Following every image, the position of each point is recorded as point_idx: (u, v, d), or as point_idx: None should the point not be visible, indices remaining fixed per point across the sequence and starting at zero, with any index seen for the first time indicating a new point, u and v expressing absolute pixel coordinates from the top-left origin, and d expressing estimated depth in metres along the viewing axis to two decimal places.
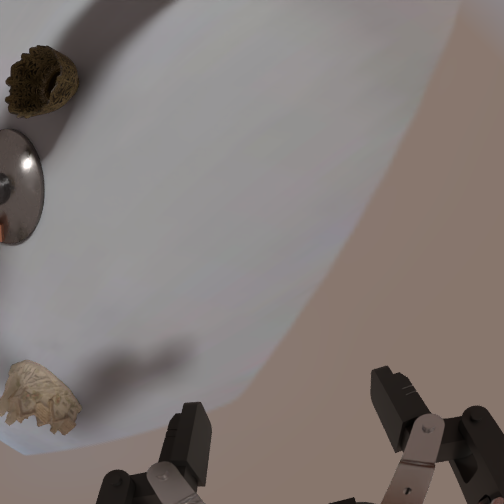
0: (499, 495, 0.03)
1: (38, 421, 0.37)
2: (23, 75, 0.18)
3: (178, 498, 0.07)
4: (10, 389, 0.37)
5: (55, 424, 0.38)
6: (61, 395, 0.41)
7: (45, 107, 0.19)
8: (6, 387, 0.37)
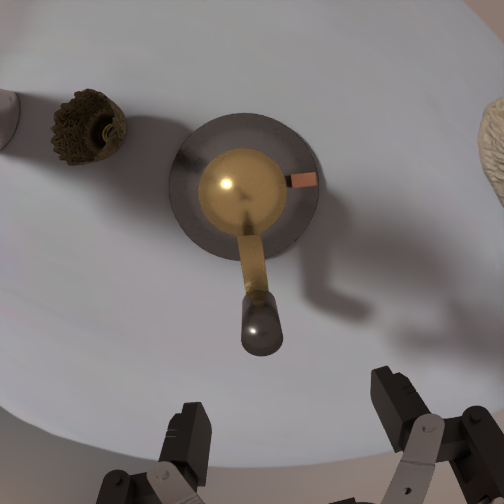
0: (499, 495, 0.03)
1: None
2: (87, 161, 0.25)
3: (178, 498, 0.07)
4: None
5: None
6: (498, 110, 0.26)
7: (102, 93, 0.22)
8: None
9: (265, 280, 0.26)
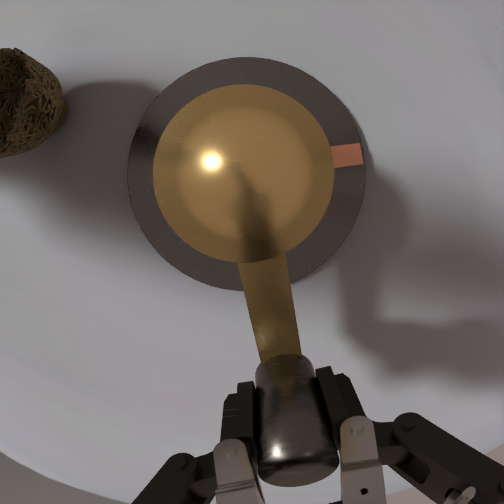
0: (467, 485, 0.04)
1: None
2: None
3: (252, 472, 0.08)
4: None
5: None
6: None
7: None
8: None
9: (295, 338, 0.13)
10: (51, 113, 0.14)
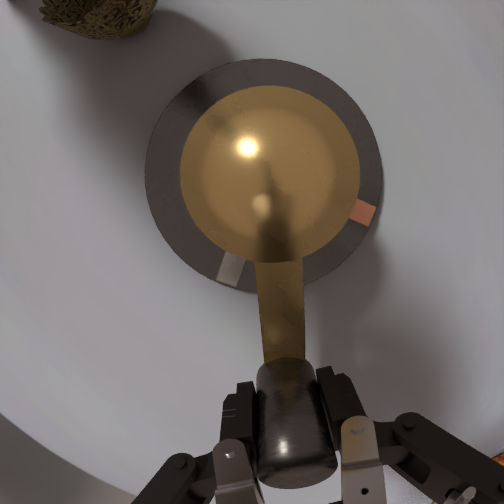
0: (467, 485, 0.04)
1: None
2: (71, 28, 0.11)
3: (251, 472, 0.08)
4: None
5: None
6: None
7: None
8: None
9: (301, 342, 0.13)
10: (133, 19, 0.13)
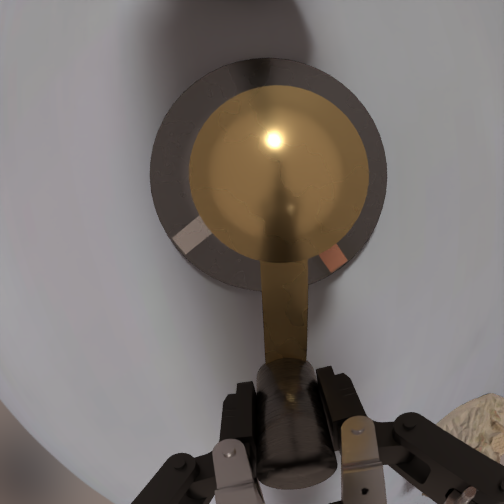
0: (467, 485, 0.04)
1: None
2: None
3: (251, 472, 0.08)
4: None
5: None
6: (494, 407, 0.23)
7: None
8: None
9: (303, 343, 0.13)
10: None
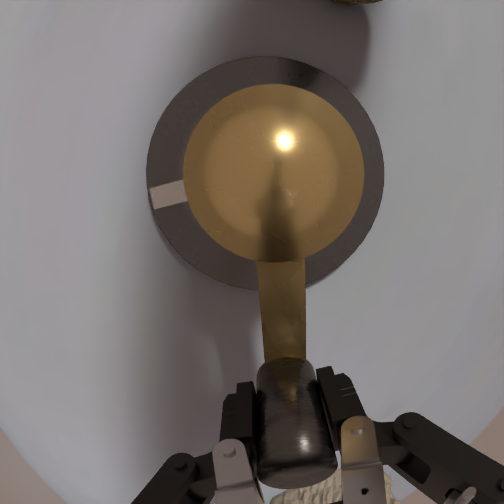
0: (467, 485, 0.04)
1: None
2: None
3: (251, 472, 0.08)
4: None
5: None
6: None
7: None
8: None
9: (302, 342, 0.13)
10: None
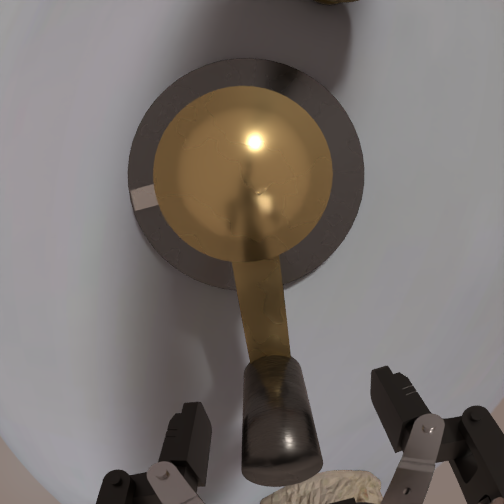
0: (499, 495, 0.03)
1: None
2: None
3: (178, 498, 0.07)
4: None
5: None
6: (366, 485, 0.27)
7: None
8: None
9: (285, 340, 0.13)
10: None
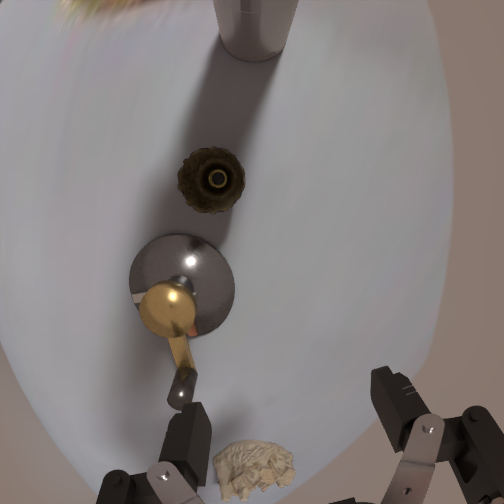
0: (499, 495, 0.03)
1: (262, 486, 0.47)
2: (185, 179, 0.33)
3: (178, 498, 0.07)
4: (225, 475, 0.48)
5: (280, 479, 0.47)
6: (275, 453, 0.51)
7: (239, 196, 0.32)
8: (220, 476, 0.48)
9: (188, 361, 0.37)
10: None
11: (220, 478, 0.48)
